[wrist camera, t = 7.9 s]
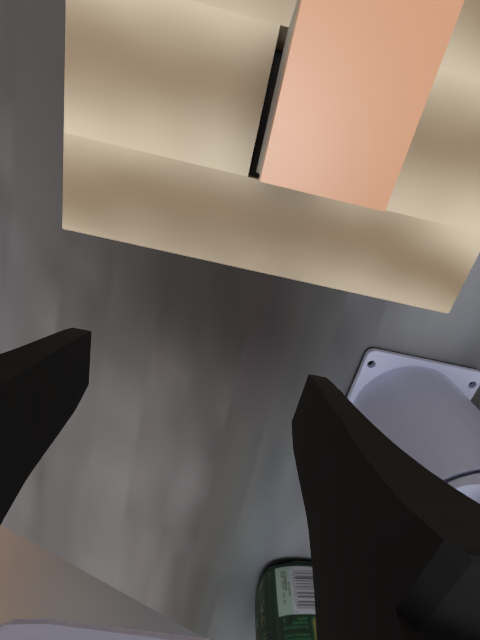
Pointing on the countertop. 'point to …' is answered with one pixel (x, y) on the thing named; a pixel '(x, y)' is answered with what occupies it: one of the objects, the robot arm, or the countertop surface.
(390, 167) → the orange brown rectangular block
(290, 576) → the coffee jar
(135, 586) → the countertop surface
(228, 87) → the beige wooden board
